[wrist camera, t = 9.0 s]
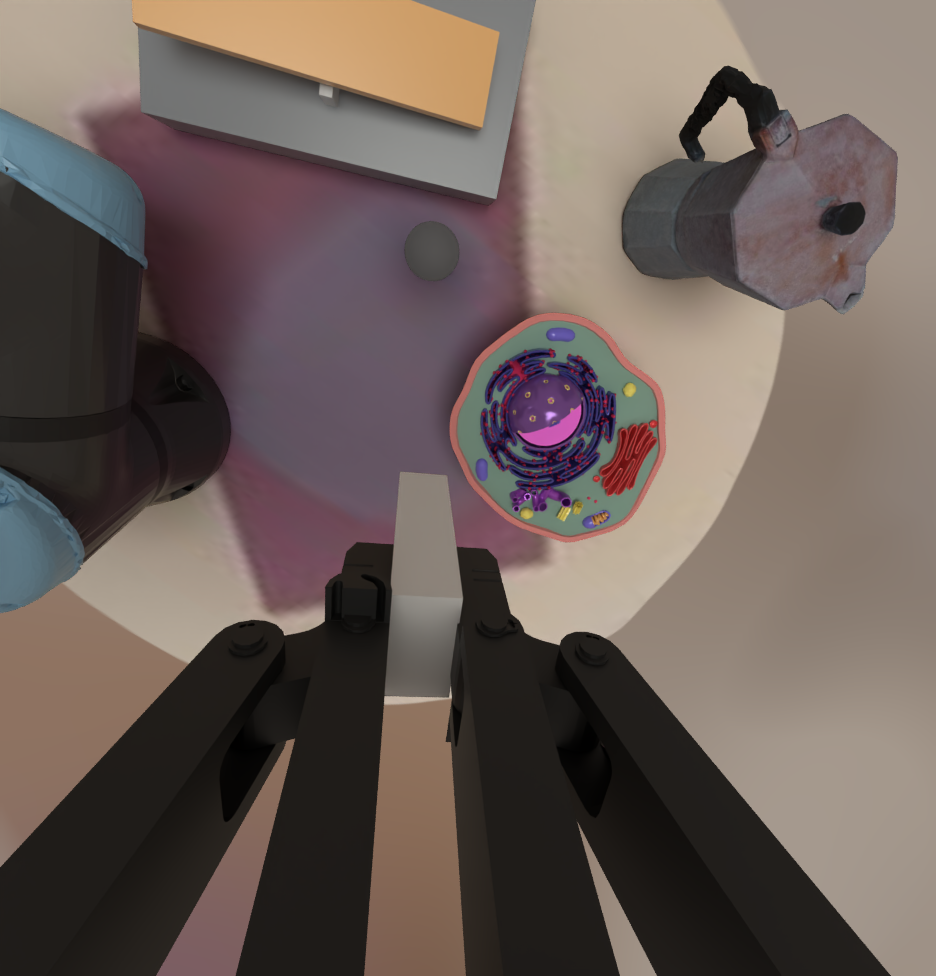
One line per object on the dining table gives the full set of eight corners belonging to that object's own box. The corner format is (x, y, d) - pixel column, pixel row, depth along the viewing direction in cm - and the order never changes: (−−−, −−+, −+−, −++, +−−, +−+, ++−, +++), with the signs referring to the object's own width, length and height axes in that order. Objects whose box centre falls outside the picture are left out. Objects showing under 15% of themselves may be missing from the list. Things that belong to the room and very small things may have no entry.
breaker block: (175, 129, 38) (122, 102, 32) (172, -85, 34) (109, -170, 27) (488, 205, 42) (500, 195, 35) (524, 21, 37) (545, -31, 31)
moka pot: (675, 330, 47) (832, 374, 29) (565, 193, 42) (671, 141, 24) (762, 247, 45) (994, 239, 26) (657, 92, 40) (854, -51, 21)
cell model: (509, 532, 54) (528, 596, 44) (413, 363, 47) (410, 392, 36) (659, 458, 52) (716, 507, 42) (585, 268, 44) (632, 271, 34)
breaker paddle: (139, 28, 29) (132, 21, 28) (135, -91, 27) (128, -102, 26) (478, 130, 34) (482, 127, 34) (495, 37, 32) (499, 32, 32)
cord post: (409, 269, 43) (400, 274, 29) (415, 230, 42) (409, 215, 28) (444, 277, 44) (453, 286, 29) (451, 238, 43) (463, 228, 28)
